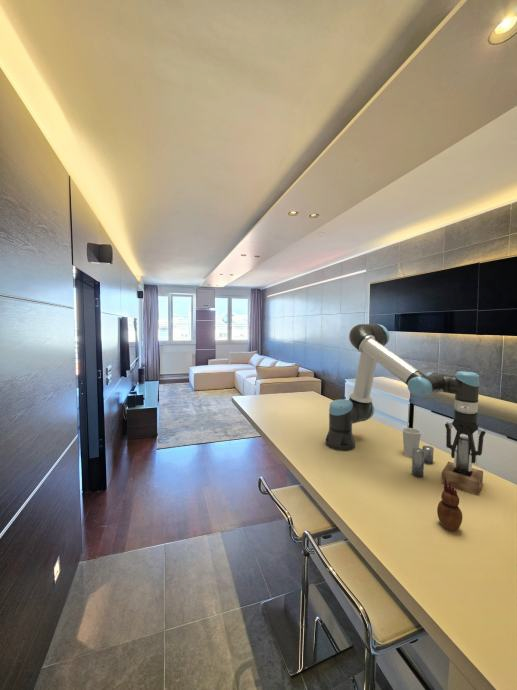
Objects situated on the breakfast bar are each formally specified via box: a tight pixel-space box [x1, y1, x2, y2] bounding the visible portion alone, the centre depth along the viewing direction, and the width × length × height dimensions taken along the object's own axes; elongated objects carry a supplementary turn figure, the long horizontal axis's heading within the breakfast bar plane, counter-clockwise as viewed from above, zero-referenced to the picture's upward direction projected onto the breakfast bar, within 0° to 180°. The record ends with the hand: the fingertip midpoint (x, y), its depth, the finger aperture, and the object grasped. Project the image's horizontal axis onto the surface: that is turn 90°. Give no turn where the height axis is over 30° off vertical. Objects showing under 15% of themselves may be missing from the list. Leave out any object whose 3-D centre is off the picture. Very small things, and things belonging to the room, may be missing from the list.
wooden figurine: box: [436, 478, 463, 531], centre depth 93 cm, size 7×6×15 cm
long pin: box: [456, 435, 471, 476], centre depth 118 cm, size 4×4×16 cm
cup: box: [402, 427, 422, 458], centre depth 144 cm, size 8×8×12 cm
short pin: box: [422, 445, 435, 465], centre depth 137 cm, size 4×4×7 cm
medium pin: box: [411, 447, 425, 479], centre depth 125 cm, size 4×4×11 cm
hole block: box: [441, 461, 484, 496], centre depth 118 cm, size 12×12×5 cm
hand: (462, 467), depth 118 cm, fingers closed on long pin, 4 cm apart
